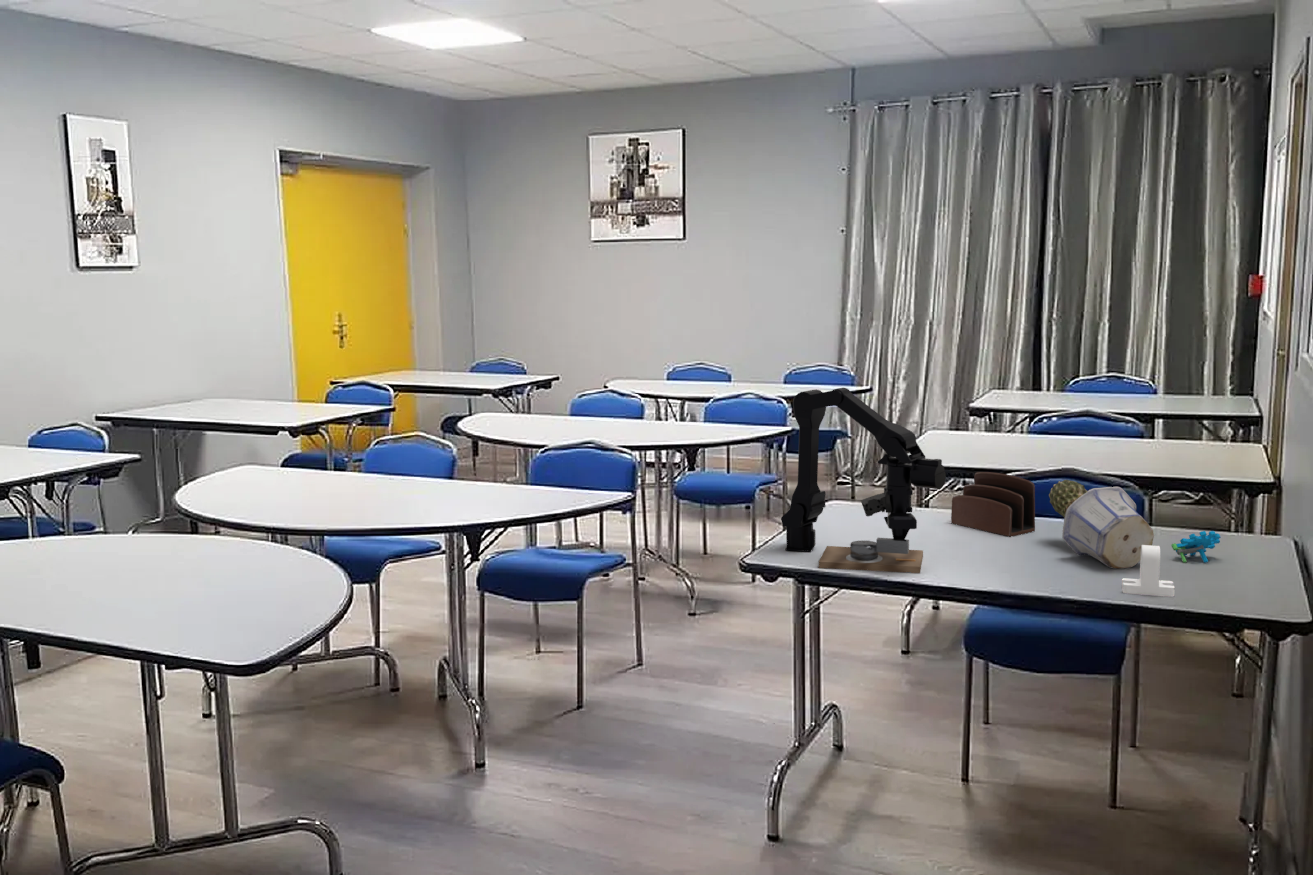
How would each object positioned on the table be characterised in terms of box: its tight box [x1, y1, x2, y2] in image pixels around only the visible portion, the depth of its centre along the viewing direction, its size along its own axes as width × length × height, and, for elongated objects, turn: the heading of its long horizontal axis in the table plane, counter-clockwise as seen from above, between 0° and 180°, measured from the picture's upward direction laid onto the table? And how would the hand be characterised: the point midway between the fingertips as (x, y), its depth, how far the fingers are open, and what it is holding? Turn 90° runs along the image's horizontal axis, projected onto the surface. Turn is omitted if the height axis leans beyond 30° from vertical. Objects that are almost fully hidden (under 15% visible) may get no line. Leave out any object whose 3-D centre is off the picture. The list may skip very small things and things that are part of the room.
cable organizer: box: [1121, 544, 1176, 598], centre depth 231 cm, size 5×10×10 cm, turn 70°
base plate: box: [818, 545, 924, 574], centre depth 260 cm, size 23×15×2 cm, turn 74°
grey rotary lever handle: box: [849, 537, 910, 560], centre depth 256 cm, size 13×6×4 cm, turn 68°
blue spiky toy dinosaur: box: [1170, 530, 1221, 564], centre depth 254 cm, size 11×6×10 cm
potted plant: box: [1048, 479, 1155, 570], centre depth 261 cm, size 18×18×30 cm
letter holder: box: [950, 471, 1036, 538], centre depth 290 cm, size 10×20×14 cm, turn 33°
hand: (897, 549), depth 257 cm, fingers closed
